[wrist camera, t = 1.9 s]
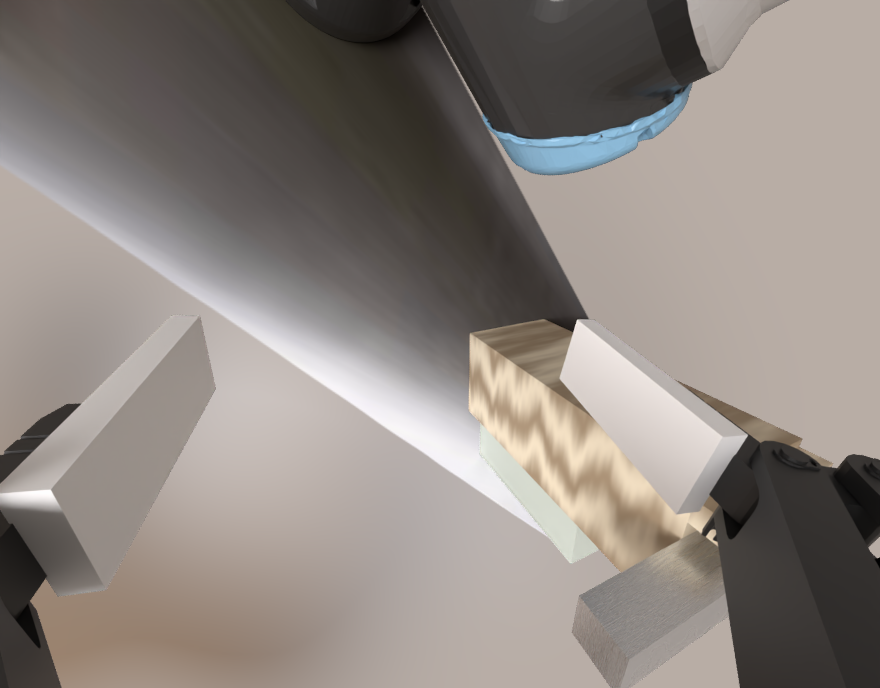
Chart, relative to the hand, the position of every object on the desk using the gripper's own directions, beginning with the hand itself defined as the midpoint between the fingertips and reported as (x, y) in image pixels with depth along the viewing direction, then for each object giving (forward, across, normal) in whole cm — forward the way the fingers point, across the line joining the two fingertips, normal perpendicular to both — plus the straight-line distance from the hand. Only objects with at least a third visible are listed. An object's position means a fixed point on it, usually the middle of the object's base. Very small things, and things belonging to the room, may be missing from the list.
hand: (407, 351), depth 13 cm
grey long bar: (+1, +22, -16) cm, 27 cm away
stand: (+31, +19, -20) cm, 41 cm away
